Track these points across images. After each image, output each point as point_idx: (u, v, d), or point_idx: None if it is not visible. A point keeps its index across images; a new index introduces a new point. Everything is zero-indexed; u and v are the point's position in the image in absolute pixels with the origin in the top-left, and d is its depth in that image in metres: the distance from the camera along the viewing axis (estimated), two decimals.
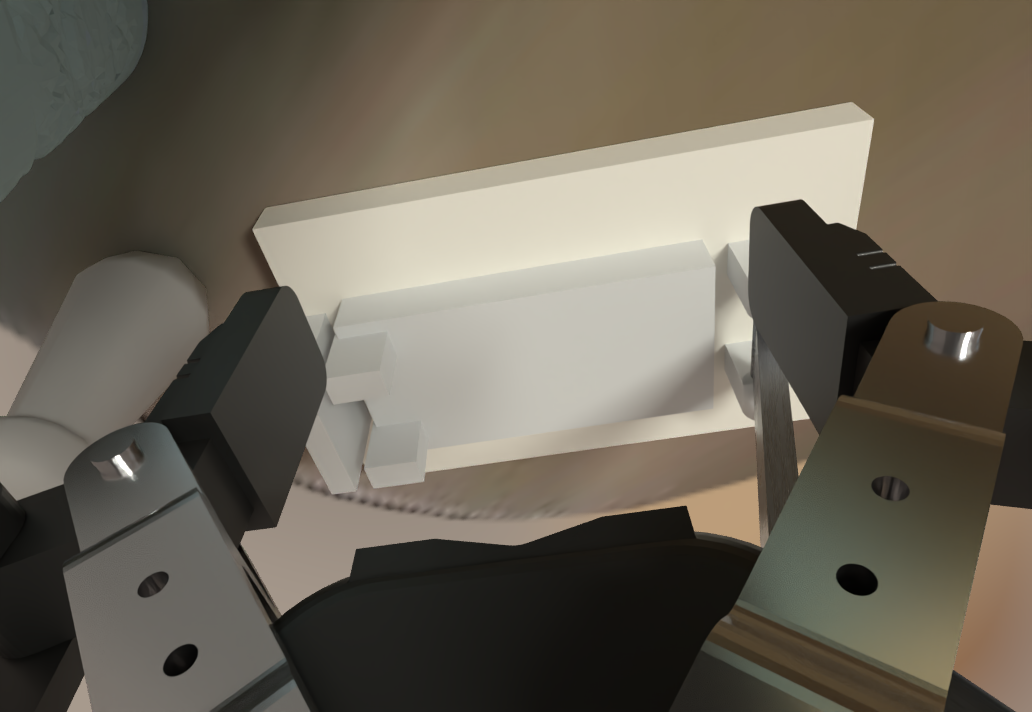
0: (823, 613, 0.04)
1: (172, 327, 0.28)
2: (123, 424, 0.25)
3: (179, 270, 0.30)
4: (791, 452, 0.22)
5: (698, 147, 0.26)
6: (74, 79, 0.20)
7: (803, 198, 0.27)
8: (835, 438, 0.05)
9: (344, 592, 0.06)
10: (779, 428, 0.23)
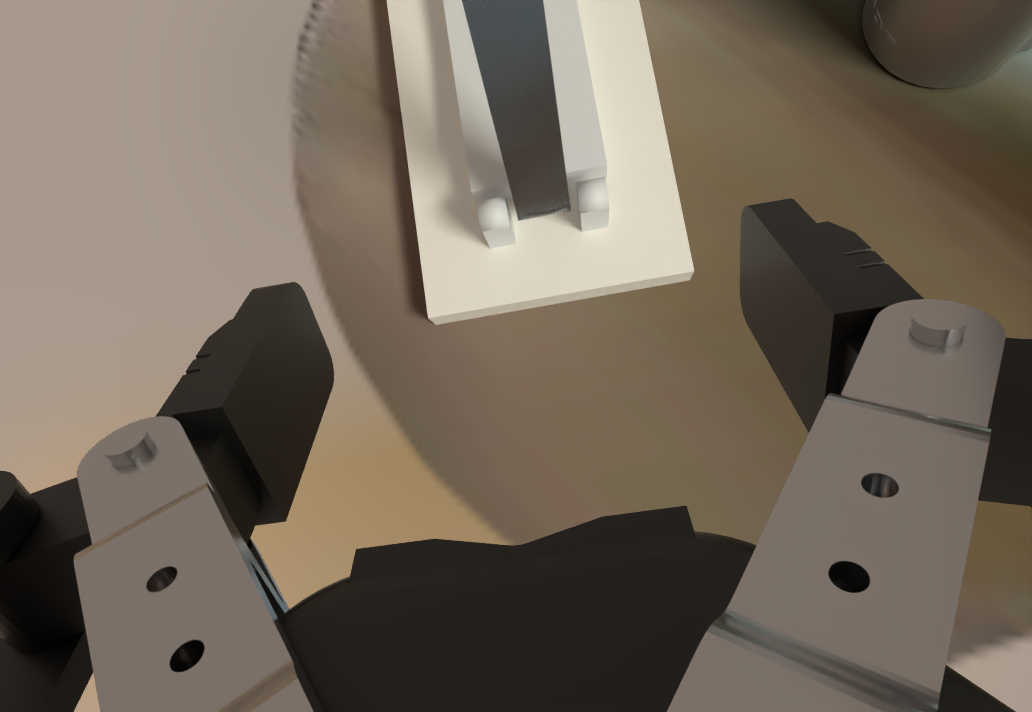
0: (816, 611, 0.04)
1: None
2: None
3: None
4: None
5: (672, 168, 0.40)
6: None
7: (637, 241, 0.39)
8: (824, 436, 0.05)
9: (344, 592, 0.06)
10: None
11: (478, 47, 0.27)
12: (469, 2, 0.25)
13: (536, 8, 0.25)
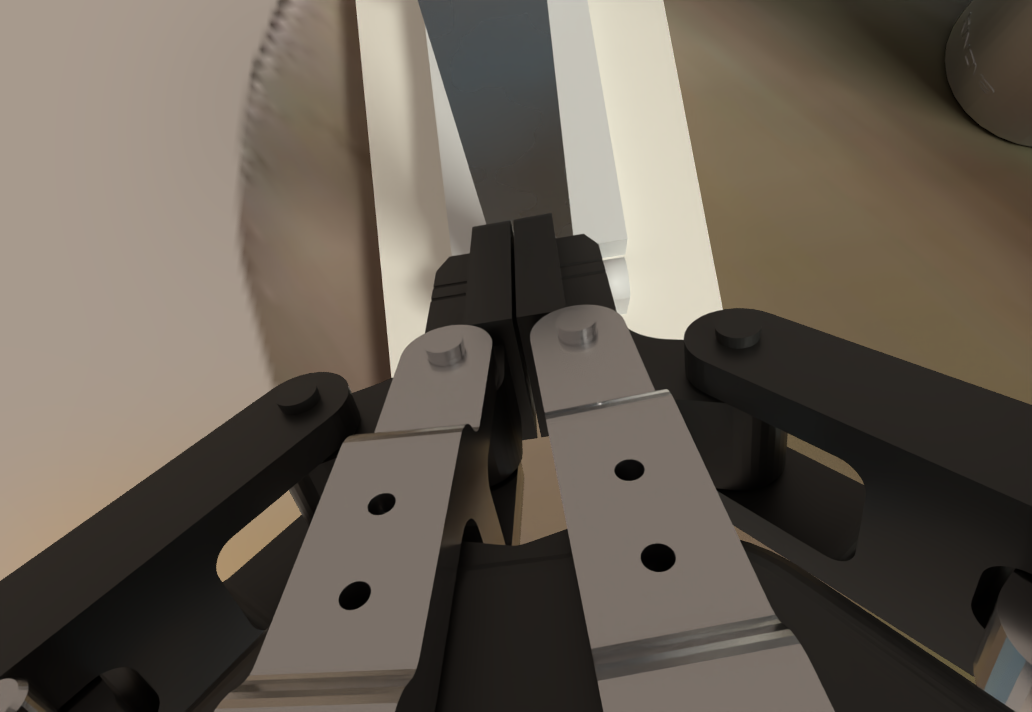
0: (655, 602, 0.04)
1: None
2: None
3: None
4: None
5: (708, 240, 0.32)
6: None
7: (663, 334, 0.31)
8: (565, 451, 0.06)
9: None
10: None
11: (456, 103, 0.18)
12: (441, 41, 0.17)
13: (541, 51, 0.17)
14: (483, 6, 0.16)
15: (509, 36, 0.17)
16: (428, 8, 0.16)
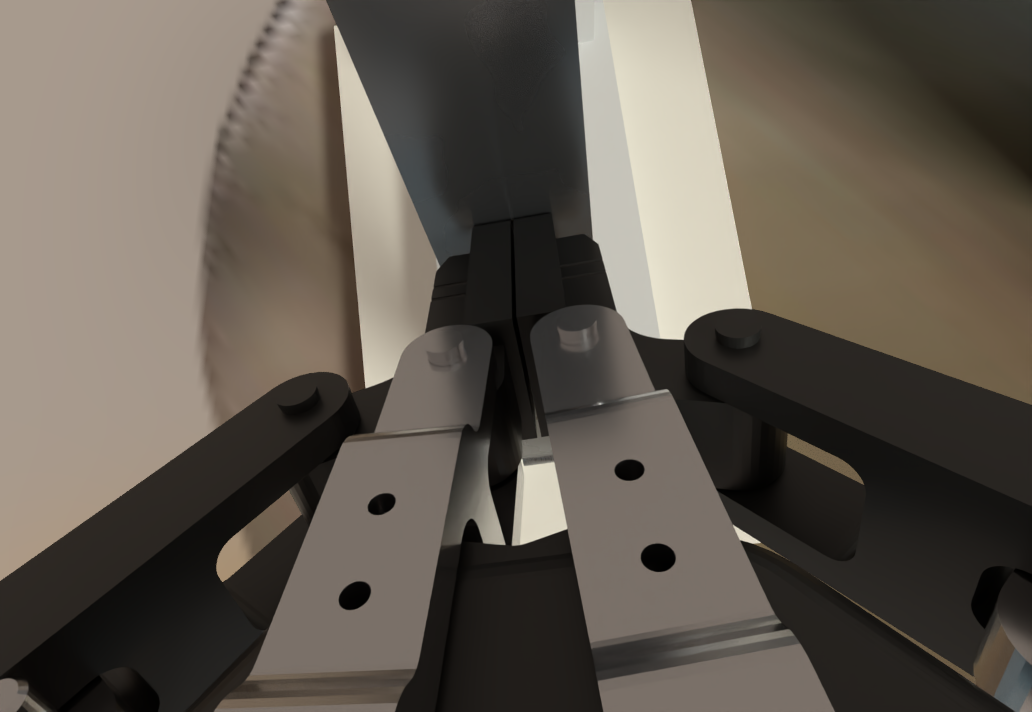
0: (656, 602, 0.04)
1: None
2: None
3: None
4: None
5: None
6: None
7: None
8: (566, 451, 0.06)
9: None
10: None
11: None
12: (429, 204, 0.11)
13: (574, 213, 0.12)
14: (491, 162, 0.11)
15: (529, 197, 0.11)
16: (409, 166, 0.11)
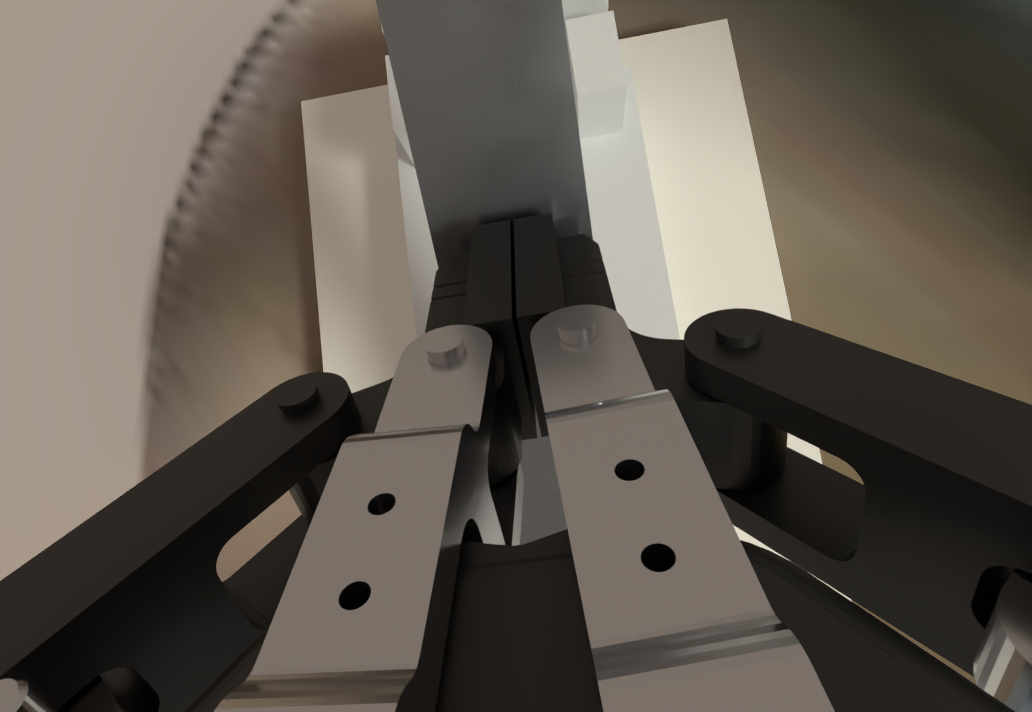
0: (656, 602, 0.04)
1: None
2: None
3: None
4: None
5: None
6: None
7: None
8: (565, 451, 0.06)
9: None
10: None
11: None
12: (432, 181, 0.12)
13: (572, 204, 0.12)
14: (490, 128, 0.12)
15: (526, 178, 0.12)
16: (416, 128, 0.12)
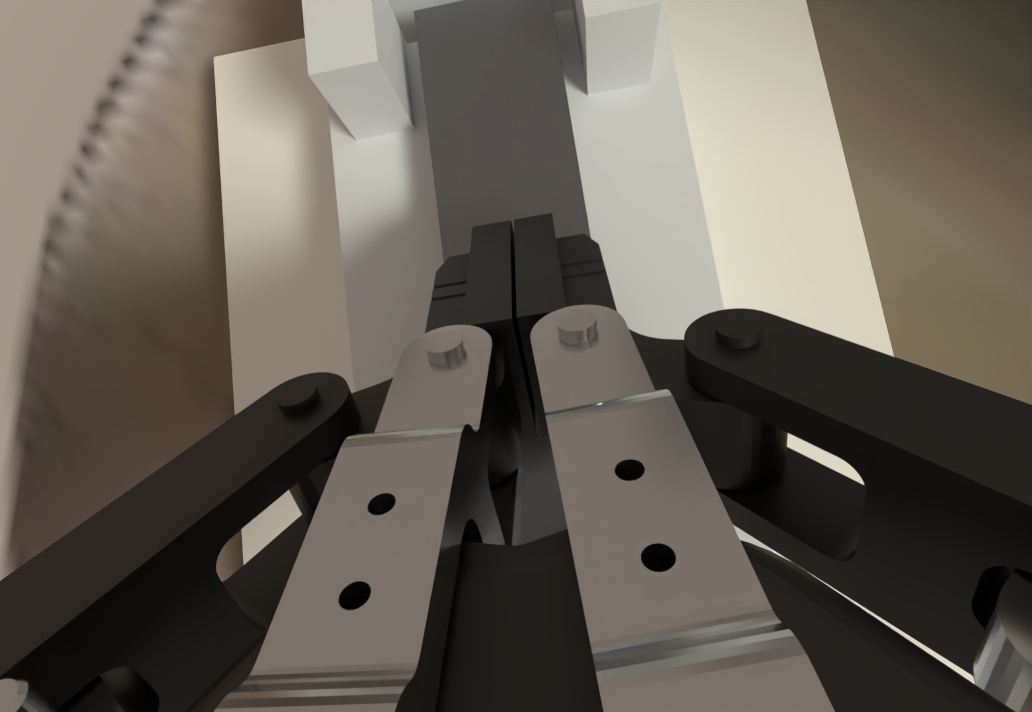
0: (656, 602, 0.04)
1: None
2: None
3: None
4: None
5: None
6: None
7: None
8: (566, 451, 0.06)
9: None
10: None
11: None
12: (448, 193, 0.14)
13: (571, 210, 0.13)
14: (501, 151, 0.14)
15: (530, 189, 0.13)
16: (439, 152, 0.14)
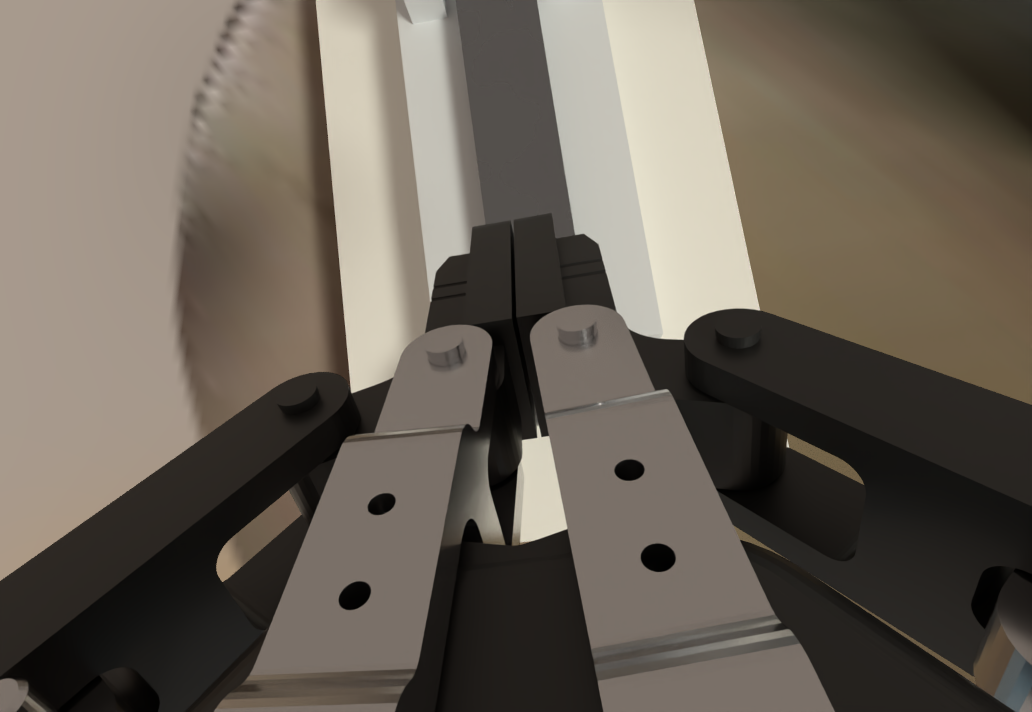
0: (656, 602, 0.04)
1: None
2: None
3: None
4: (567, 191, 0.23)
5: None
6: None
7: None
8: (566, 451, 0.06)
9: None
10: None
11: (473, 96, 0.24)
12: (468, 46, 0.24)
13: (537, 54, 0.24)
14: (498, 23, 0.25)
15: (515, 43, 0.24)
16: (464, 24, 0.25)
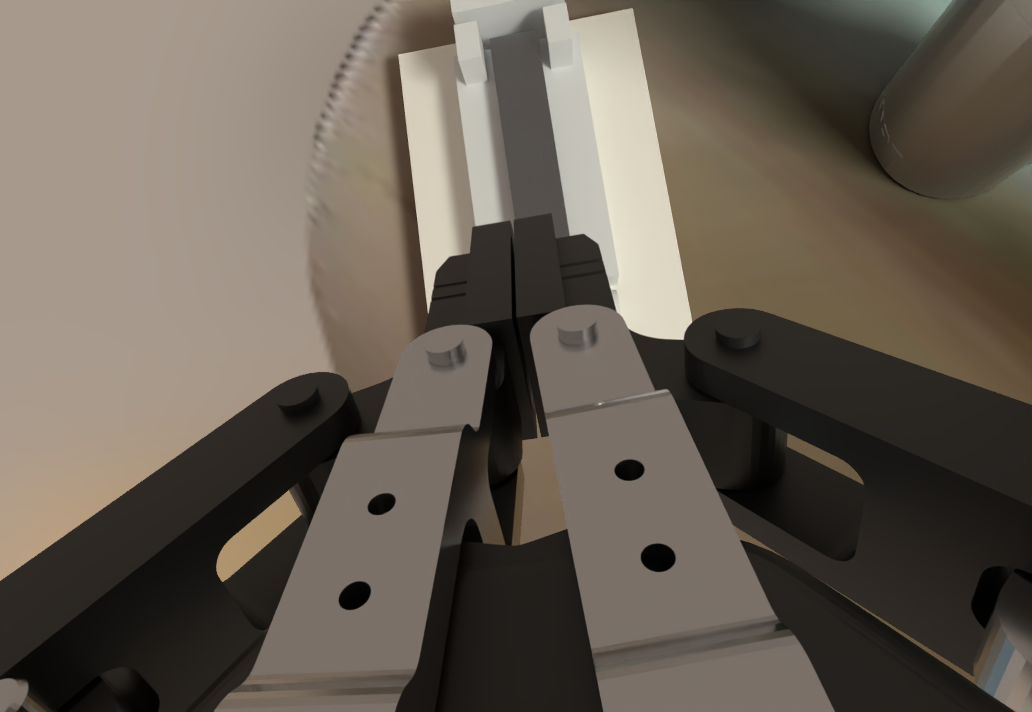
0: (656, 601, 0.04)
1: None
2: None
3: None
4: (562, 190, 0.39)
5: (682, 273, 0.41)
6: None
7: None
8: (566, 451, 0.06)
9: None
10: None
11: (505, 132, 0.40)
12: (502, 101, 0.40)
13: (544, 106, 0.40)
14: (520, 87, 0.40)
15: (530, 100, 0.40)
16: (499, 88, 0.40)
